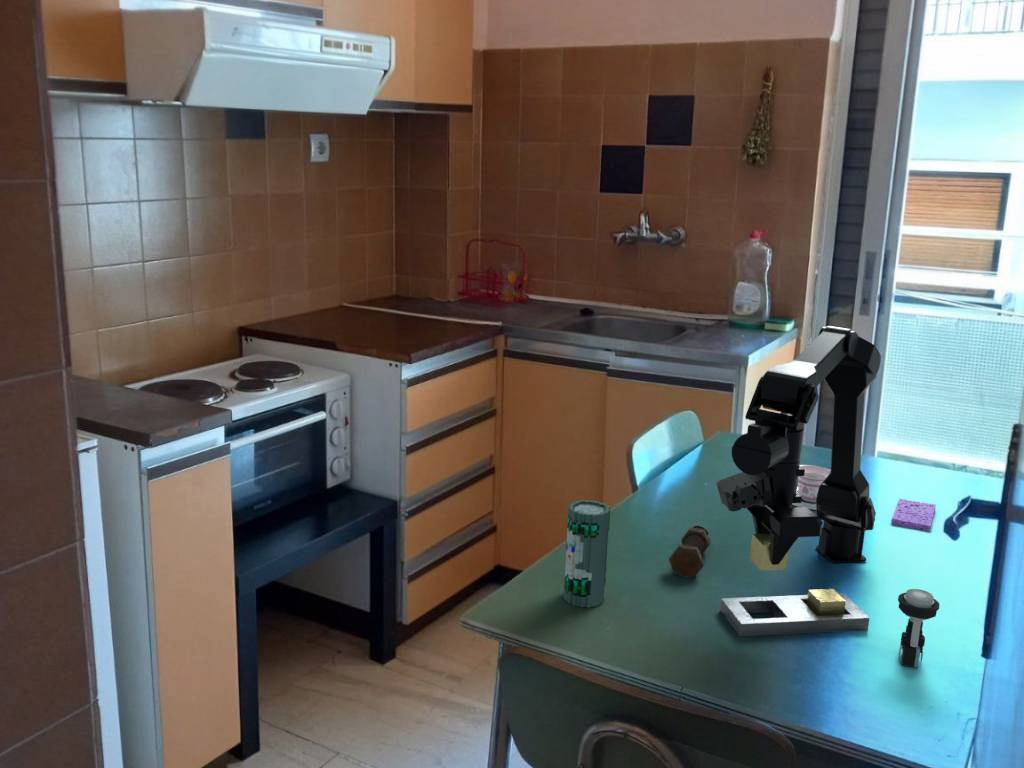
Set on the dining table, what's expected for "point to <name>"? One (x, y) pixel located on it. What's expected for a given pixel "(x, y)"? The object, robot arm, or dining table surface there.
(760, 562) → the beige wood block
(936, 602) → the push button
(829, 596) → the tan wooden cube
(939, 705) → the dining table surface
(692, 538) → the bolt
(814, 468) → the teacup
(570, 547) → the can
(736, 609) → the rectangular frame
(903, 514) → the sponges
